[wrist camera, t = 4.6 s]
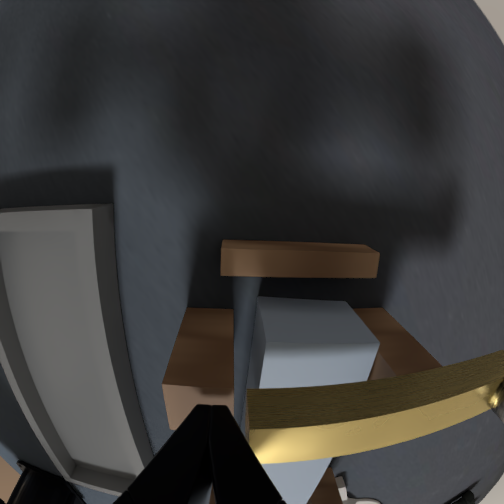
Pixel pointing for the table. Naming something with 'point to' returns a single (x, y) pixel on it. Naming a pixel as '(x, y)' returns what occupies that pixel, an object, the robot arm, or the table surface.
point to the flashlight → (466, 498)
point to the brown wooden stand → (222, 331)
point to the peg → (306, 366)
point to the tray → (70, 342)
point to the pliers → (350, 502)
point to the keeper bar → (370, 410)
